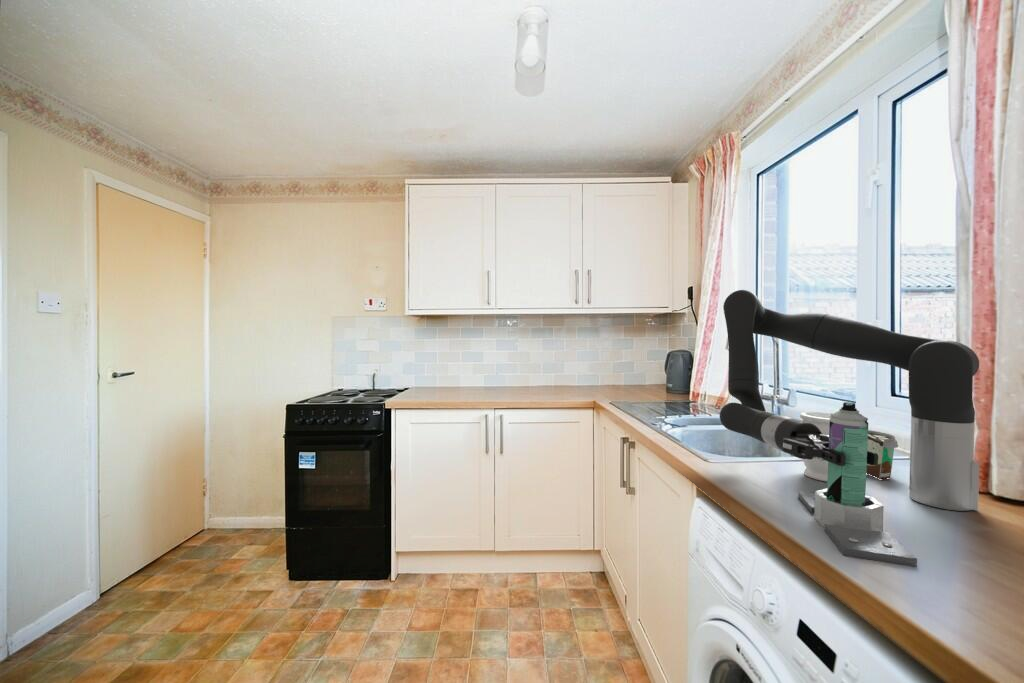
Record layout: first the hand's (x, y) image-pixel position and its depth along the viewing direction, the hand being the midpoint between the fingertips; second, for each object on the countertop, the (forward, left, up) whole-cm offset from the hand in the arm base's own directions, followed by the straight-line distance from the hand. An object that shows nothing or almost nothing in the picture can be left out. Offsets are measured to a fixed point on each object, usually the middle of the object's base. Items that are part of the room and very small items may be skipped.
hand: (859, 459), depth 75 cm
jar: (-4, -32, -13) cm, 35 cm away
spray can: (+1, -2, -11) cm, 11 cm away
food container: (-17, -40, -13) cm, 46 cm away
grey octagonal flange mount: (+1, -2, -13) cm, 13 cm away
